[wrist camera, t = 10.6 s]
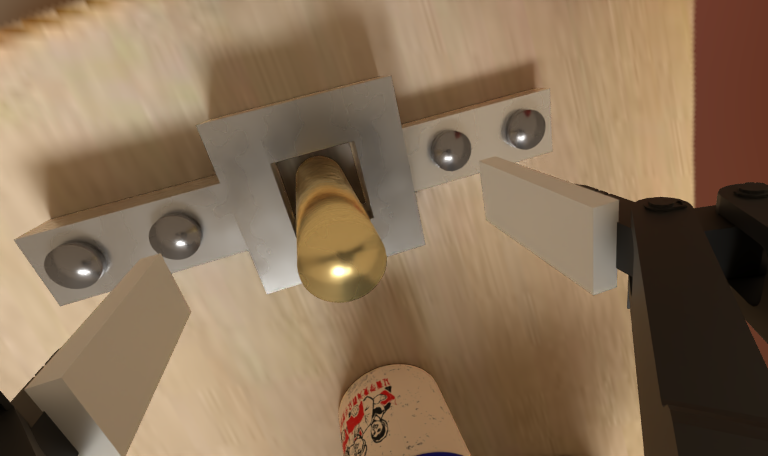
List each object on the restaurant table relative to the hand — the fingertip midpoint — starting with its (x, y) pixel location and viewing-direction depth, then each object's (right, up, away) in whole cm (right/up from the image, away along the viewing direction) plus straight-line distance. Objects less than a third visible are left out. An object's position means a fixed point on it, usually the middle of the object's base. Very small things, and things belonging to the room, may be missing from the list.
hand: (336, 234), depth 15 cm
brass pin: (-2, +3, +8) cm, 9 cm away
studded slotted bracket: (-2, +3, +8) cm, 9 cm away
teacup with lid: (+2, -16, +17) cm, 23 cm away
